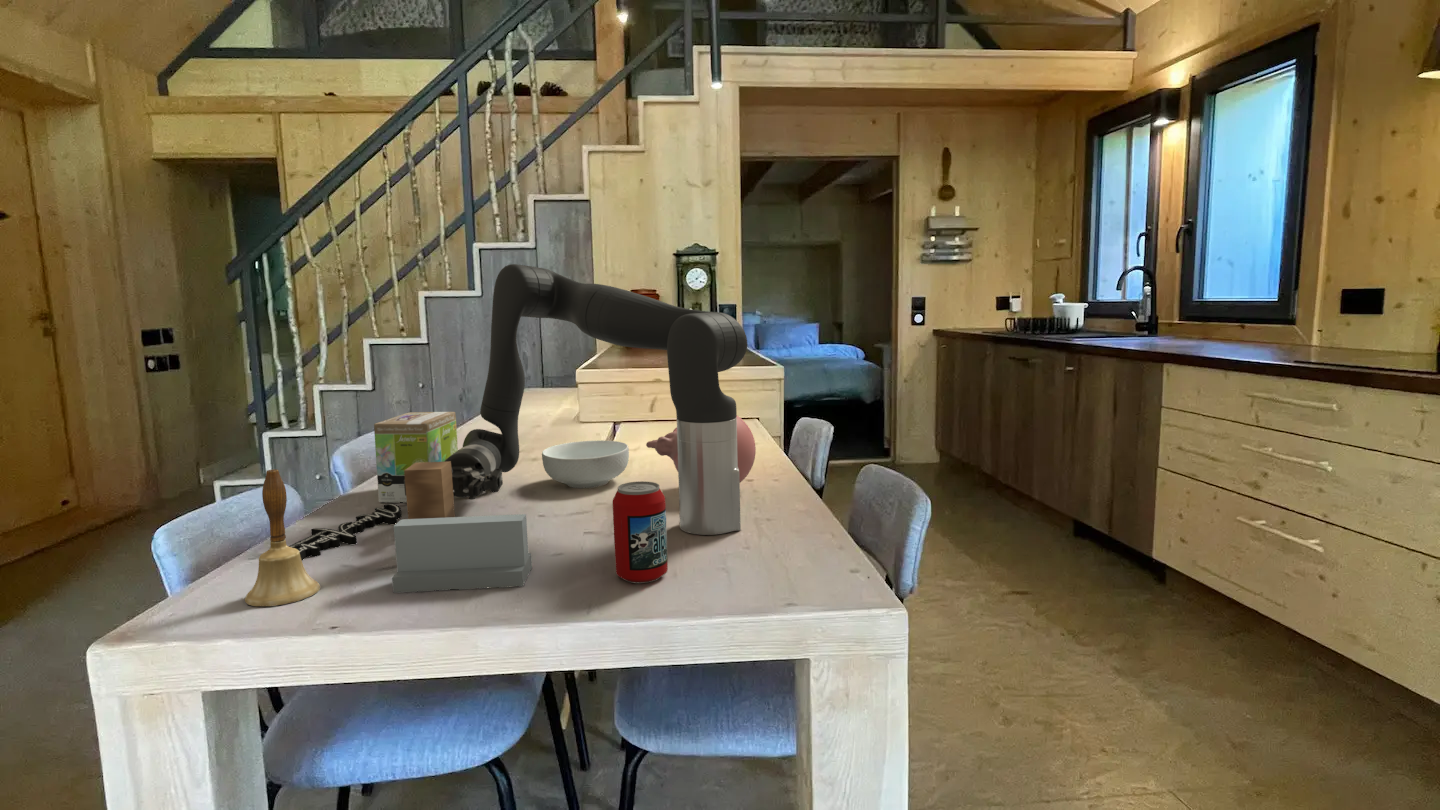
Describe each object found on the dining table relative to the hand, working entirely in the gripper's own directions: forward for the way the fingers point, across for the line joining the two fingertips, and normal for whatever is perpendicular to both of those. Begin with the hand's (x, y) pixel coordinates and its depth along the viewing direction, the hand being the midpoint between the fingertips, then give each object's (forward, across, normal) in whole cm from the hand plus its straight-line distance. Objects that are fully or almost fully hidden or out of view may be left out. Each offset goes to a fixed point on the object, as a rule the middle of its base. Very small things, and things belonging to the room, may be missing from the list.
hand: (442, 493), depth 115 cm
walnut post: (+5, 0, +8) cm, 9 cm away
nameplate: (-6, -17, +8) cm, 20 cm away
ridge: (+16, +7, +8) cm, 19 cm away
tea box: (-32, -13, +8) cm, 35 cm away
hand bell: (+18, -15, +8) cm, 25 cm away
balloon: (-24, +40, +8) cm, 47 cm away
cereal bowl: (-34, +18, +8) cm, 39 cm away
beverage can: (+18, +30, +8) cm, 36 cm away
